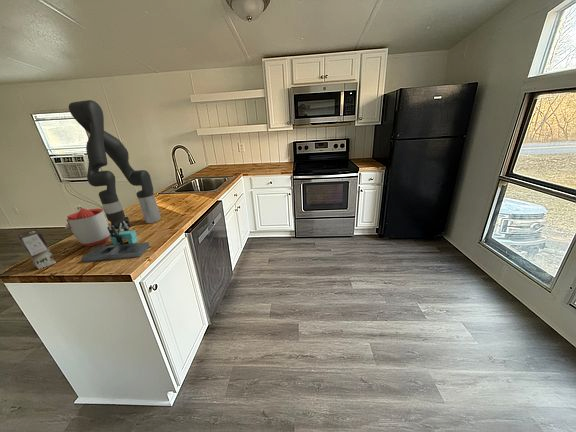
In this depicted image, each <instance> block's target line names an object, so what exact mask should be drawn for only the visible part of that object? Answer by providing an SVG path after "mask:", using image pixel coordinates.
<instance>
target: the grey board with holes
mask: <svg viewBox="0 0 576 432" xmlns="http://www.w3.org/2000/svg"><path fill="white" fill-rule="evenodd" d="M149 248H151V245H150V242H149V241H145V242H135V243H133V244H129V243H126V244H125V243H122V244H119V245H113V244H112V245H111V244H110V245H102V246H95V247H93V248H92V249H91V250H90V251H88V252H87V253H85V254H84V255H83V256H81V258H80V259H82V262H83V263H88V262H98V261H109V260H119V259H130V258H141V257H142V255H144V253H146V251H147V250H148V249H149Z"/></svg>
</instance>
